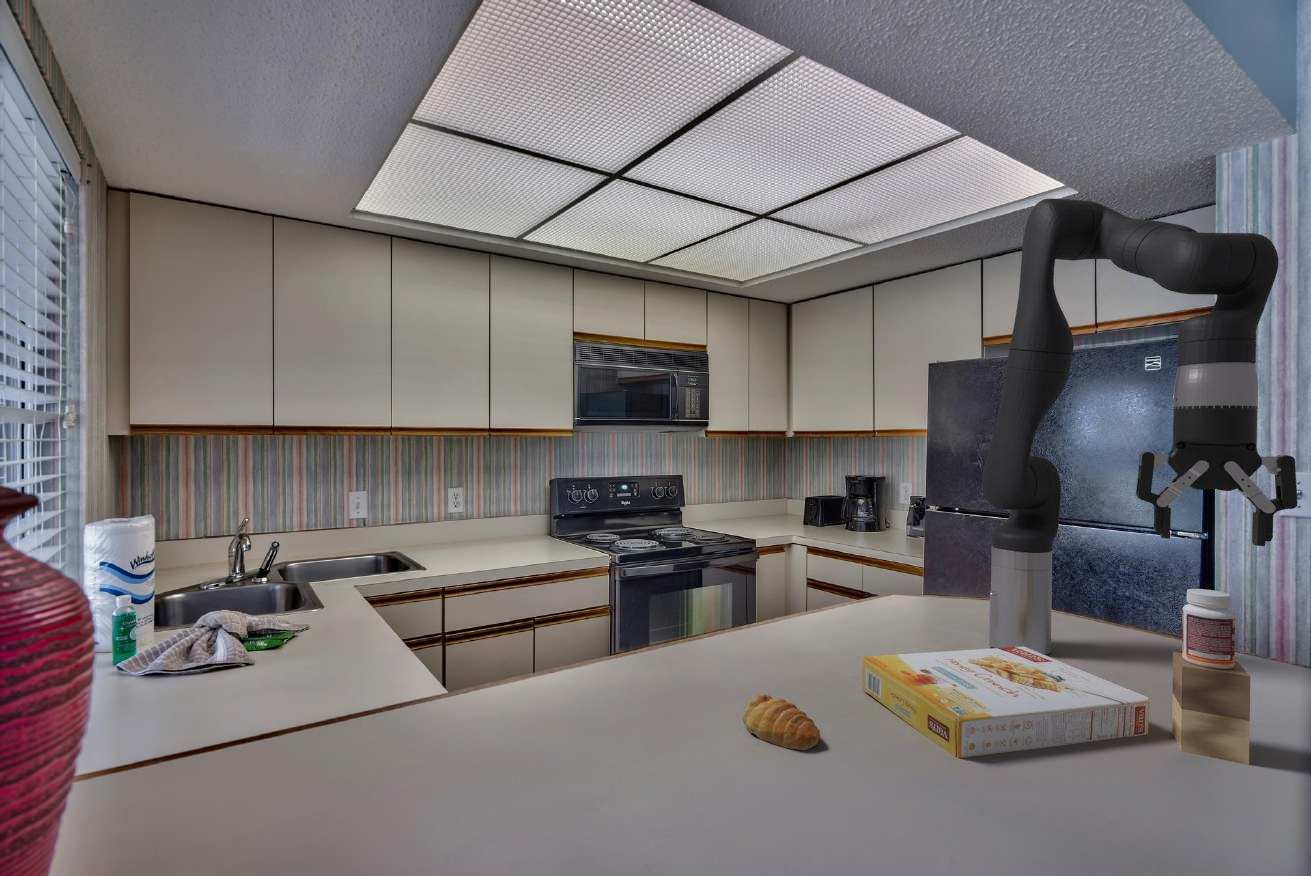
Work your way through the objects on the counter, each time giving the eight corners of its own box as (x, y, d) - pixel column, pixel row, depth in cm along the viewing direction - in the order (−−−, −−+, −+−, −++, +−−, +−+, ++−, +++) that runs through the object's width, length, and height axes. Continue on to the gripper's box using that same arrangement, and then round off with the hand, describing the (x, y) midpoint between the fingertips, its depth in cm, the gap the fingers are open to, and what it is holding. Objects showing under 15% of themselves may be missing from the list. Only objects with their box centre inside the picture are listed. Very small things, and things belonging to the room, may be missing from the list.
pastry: (833, 743, 77) (833, 711, 77) (797, 761, 73) (797, 727, 73) (772, 716, 85) (772, 686, 85) (735, 731, 80) (736, 700, 80)
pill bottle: (1244, 671, 74) (1245, 598, 74) (1196, 668, 75) (1197, 595, 75) (1218, 657, 79) (1219, 588, 79) (1173, 654, 80) (1174, 586, 80)
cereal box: (859, 654, 93) (1022, 640, 100) (858, 693, 93) (1021, 676, 100) (960, 717, 73) (1154, 694, 80) (959, 766, 73) (1152, 738, 80)
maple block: (1180, 751, 76) (1181, 709, 76) (1172, 731, 81) (1172, 691, 81) (1249, 765, 73) (1249, 720, 73) (1235, 743, 78) (1235, 702, 78)
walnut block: (1181, 708, 76) (1182, 666, 76) (1172, 691, 81) (1173, 651, 81) (1249, 720, 73) (1250, 676, 73) (1235, 702, 78) (1236, 660, 78)
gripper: (1143, 403, 77) (1140, 539, 77) (1308, 402, 70) (1304, 553, 70) (1135, 405, 84) (1132, 531, 84) (1285, 405, 76) (1281, 543, 77)
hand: (1210, 541), depth 77 cm, fingers open, 8 cm apart
